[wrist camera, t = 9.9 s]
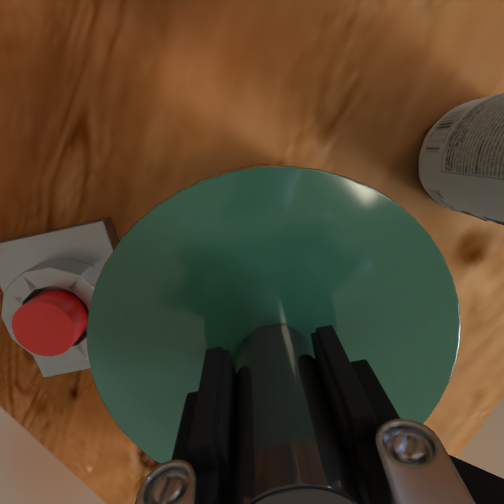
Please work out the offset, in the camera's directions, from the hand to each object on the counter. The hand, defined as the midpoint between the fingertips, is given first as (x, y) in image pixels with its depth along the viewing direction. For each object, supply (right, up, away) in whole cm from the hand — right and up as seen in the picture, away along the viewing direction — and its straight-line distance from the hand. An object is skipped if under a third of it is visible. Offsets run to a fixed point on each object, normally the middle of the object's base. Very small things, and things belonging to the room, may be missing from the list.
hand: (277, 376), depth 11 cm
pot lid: (0, 0, +2) cm, 2 cm away
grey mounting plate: (-13, +1, +12) cm, 18 cm away
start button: (-13, 0, +10) cm, 16 cm away
